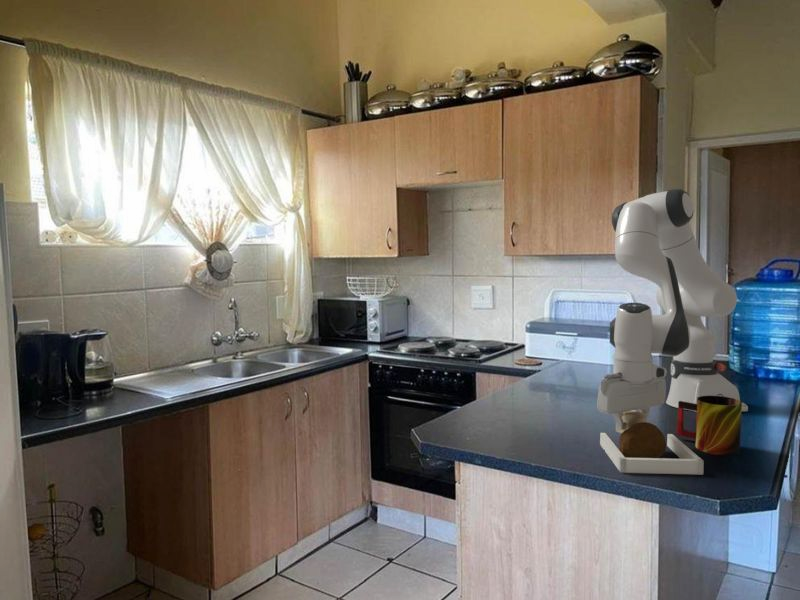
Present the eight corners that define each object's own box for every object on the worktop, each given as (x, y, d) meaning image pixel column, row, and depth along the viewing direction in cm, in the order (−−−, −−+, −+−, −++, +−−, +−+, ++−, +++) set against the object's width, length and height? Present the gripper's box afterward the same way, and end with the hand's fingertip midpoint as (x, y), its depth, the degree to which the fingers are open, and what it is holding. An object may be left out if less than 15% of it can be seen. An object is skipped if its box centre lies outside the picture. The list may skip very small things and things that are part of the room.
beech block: (633, 429, 152) (633, 409, 152) (646, 434, 147) (646, 414, 147) (615, 431, 151) (615, 411, 150) (628, 436, 146) (628, 415, 146)
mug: (676, 438, 158) (678, 392, 157) (738, 445, 152) (739, 397, 151) (676, 449, 149) (678, 401, 148) (741, 457, 143) (743, 407, 142)
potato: (606, 455, 145) (606, 419, 145) (651, 451, 148) (652, 416, 147) (625, 468, 137) (626, 429, 136) (673, 464, 139) (674, 426, 139)
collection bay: (672, 445, 152) (672, 434, 151) (703, 474, 133) (703, 461, 132) (600, 444, 153) (600, 432, 153) (620, 472, 134) (620, 459, 134)
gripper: (612, 377, 140) (610, 437, 141) (671, 369, 150) (669, 424, 151) (591, 372, 145) (590, 430, 146) (649, 364, 155) (648, 418, 156)
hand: (630, 427), depth 149 cm, fingers closed on beech block, 6 cm apart
